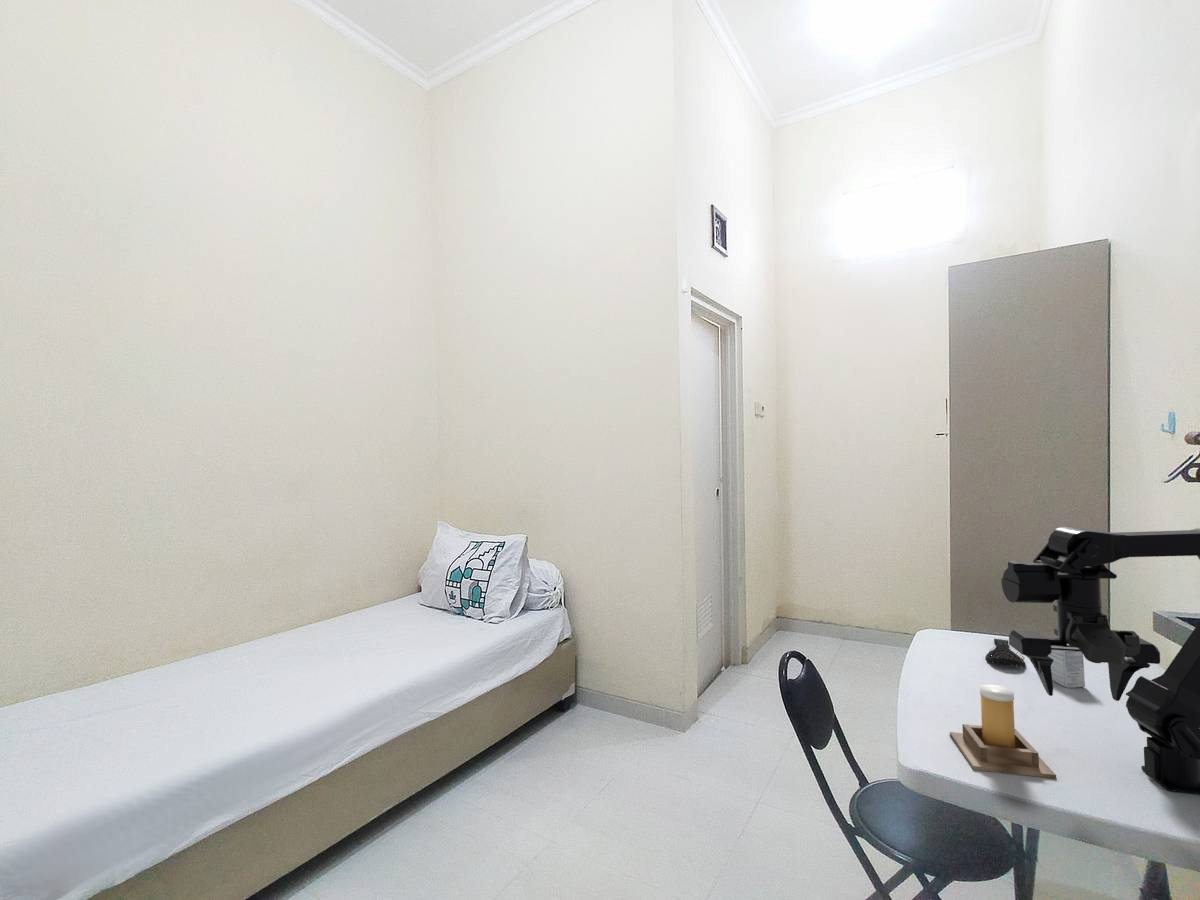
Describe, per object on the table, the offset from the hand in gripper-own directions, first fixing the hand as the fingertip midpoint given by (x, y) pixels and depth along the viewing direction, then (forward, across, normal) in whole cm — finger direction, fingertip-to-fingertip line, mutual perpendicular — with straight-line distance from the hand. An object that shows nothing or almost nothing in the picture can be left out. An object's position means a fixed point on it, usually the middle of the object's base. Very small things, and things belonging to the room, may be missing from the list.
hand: (1082, 697), depth 92 cm
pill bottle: (+12, -11, +4) cm, 17 cm away
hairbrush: (+14, +10, +60) cm, 62 cm away
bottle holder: (+13, -11, +4) cm, 17 cm away
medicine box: (+13, +16, +43) cm, 48 cm away
